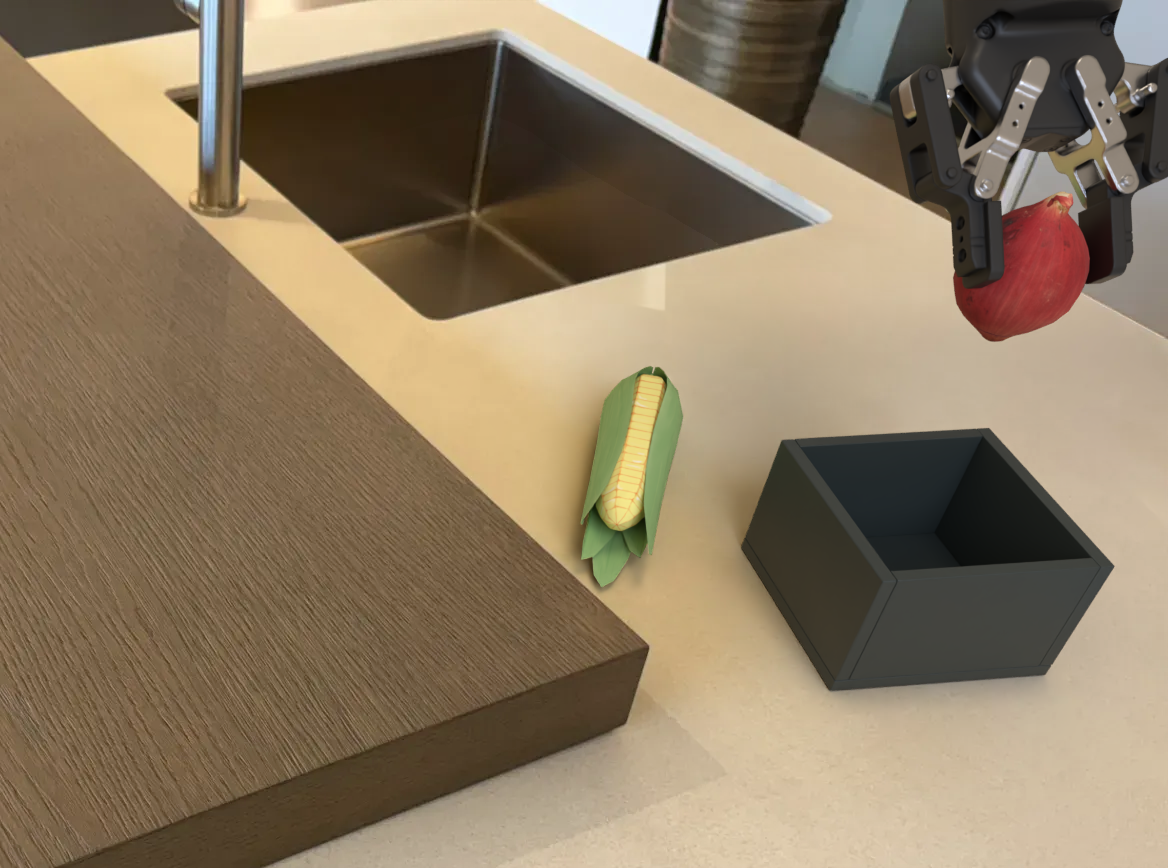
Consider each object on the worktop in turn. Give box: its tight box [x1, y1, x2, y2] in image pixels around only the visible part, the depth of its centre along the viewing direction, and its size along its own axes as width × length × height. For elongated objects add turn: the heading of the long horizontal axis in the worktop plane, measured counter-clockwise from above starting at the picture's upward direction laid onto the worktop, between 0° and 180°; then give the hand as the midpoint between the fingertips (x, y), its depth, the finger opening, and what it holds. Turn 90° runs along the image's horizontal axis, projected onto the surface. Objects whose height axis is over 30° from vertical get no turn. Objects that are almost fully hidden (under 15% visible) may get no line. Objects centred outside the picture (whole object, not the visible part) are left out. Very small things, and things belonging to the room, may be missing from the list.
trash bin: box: [740, 427, 1116, 692], centre depth 76 cm, size 13×13×8 cm
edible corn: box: [580, 365, 684, 588], centre depth 85 cm, size 5×20×5 cm, turn 161°
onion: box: [952, 191, 1090, 343], centre depth 69 cm, size 6×6×8 cm
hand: (1044, 280), depth 67 cm, fingers closed on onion, 5 cm apart
